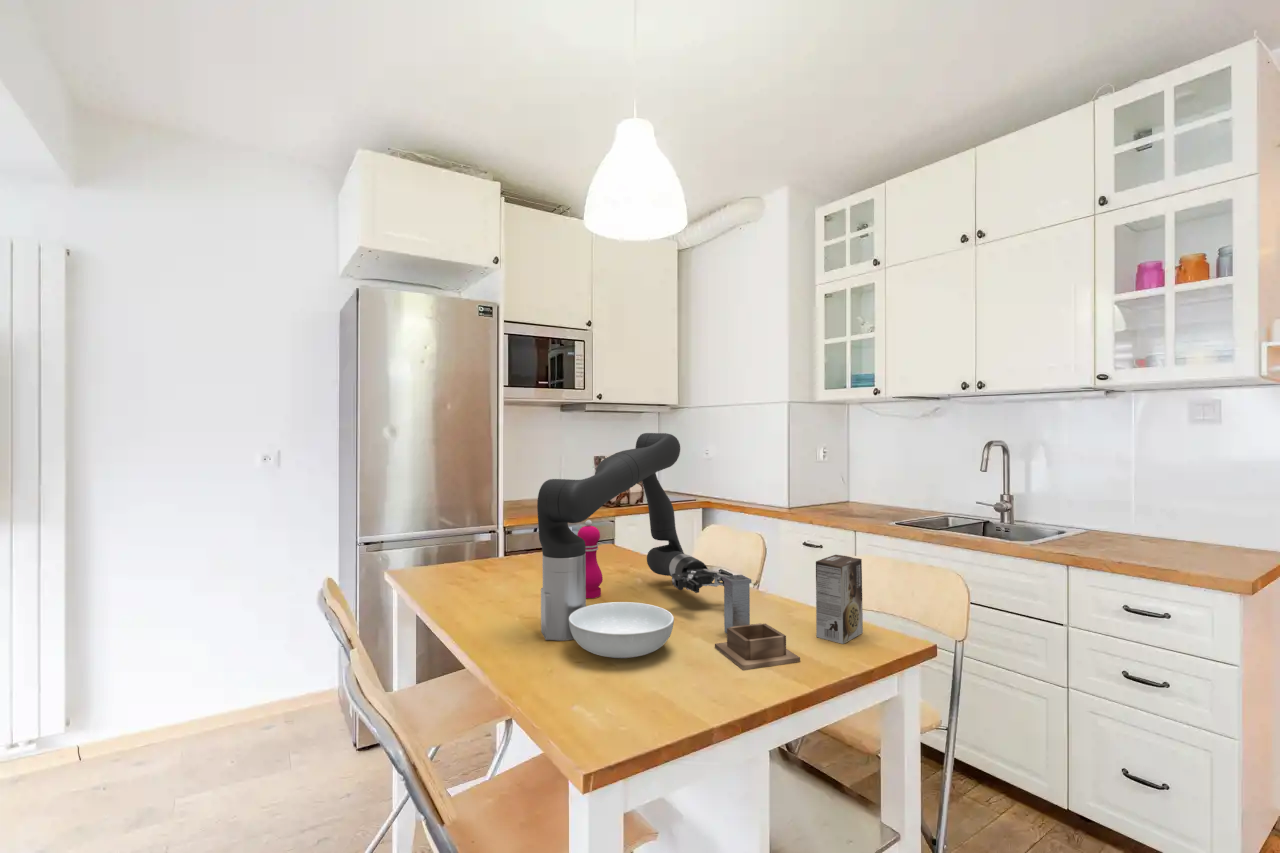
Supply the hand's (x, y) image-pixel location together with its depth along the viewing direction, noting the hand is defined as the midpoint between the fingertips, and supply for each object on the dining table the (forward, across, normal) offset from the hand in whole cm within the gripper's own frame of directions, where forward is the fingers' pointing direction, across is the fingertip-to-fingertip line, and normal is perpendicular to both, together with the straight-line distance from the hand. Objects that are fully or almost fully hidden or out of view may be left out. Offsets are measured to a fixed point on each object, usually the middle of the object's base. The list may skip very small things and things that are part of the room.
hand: (714, 586), depth 142 cm
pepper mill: (-29, -23, +8) cm, 38 cm away
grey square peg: (+11, 0, +7) cm, 13 cm away
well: (+23, -2, +7) cm, 24 cm away
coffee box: (+19, +20, +8) cm, 29 cm away
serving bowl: (+12, -26, +7) cm, 30 cm away
